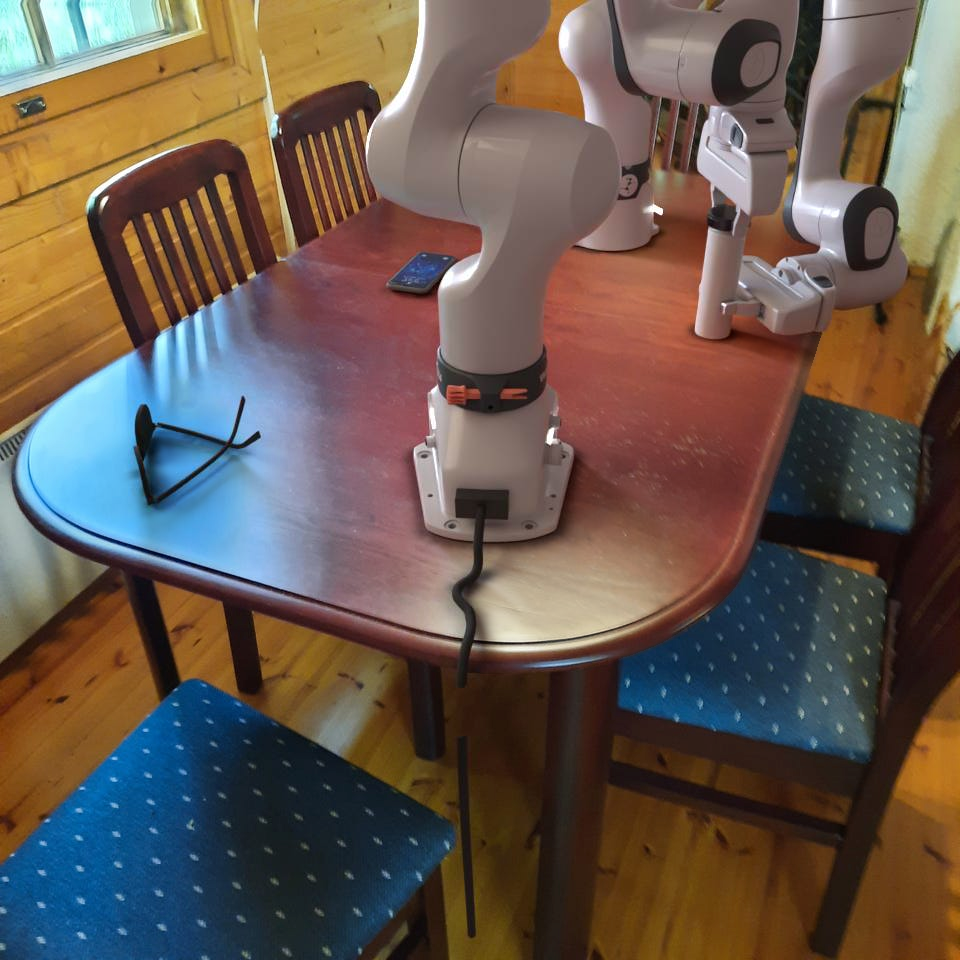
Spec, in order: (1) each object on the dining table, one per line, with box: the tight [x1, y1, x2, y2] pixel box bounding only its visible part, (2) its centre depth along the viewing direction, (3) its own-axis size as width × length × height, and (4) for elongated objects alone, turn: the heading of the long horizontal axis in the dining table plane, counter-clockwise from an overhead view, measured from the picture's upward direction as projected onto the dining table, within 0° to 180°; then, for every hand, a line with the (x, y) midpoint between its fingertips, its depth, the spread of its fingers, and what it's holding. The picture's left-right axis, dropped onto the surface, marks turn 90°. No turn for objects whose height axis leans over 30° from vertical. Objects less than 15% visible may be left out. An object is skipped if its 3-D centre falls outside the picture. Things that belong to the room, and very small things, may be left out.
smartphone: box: [386, 251, 457, 295], centre depth 143 cm, size 7×1×15 cm
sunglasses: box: [132, 395, 262, 506], centre depth 100 cm, size 17×14×5 cm
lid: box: [706, 204, 752, 232], centre depth 115 cm, size 6×6×2 cm
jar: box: [694, 226, 747, 340], centre depth 120 cm, size 5×5×17 cm
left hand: (728, 226), depth 116 cm, fingers closed on lid, 5 cm apart
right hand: (711, 299), depth 122 cm, fingers closed on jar, 5 cm apart
